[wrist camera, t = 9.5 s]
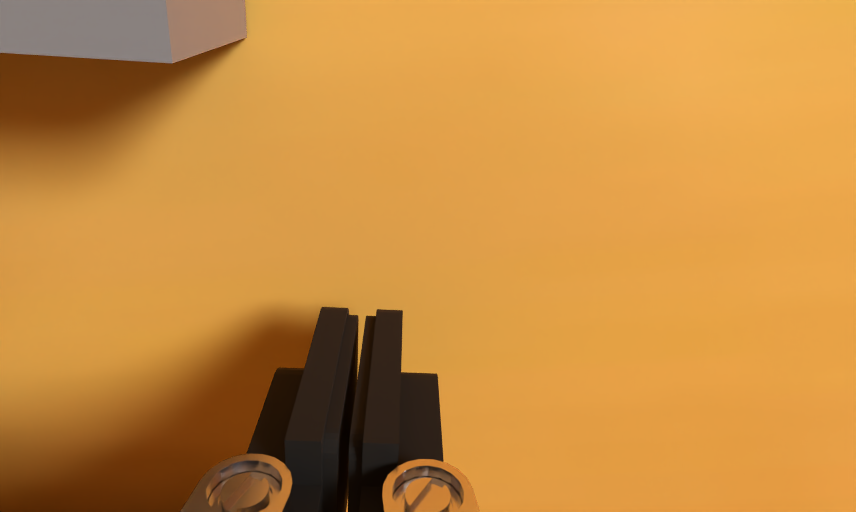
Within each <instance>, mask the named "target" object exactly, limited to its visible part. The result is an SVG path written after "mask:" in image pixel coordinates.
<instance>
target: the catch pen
mask: <svg viewBox="0 0 856 512" xmlns="http://www.w3.org/2000/svg"><path fill="white" fill-rule="evenodd" d="M244 38H247V31H246V14H245V0H0V53H13V54H30V55H46V56H62V57H78V58H94V59H110V60H126V61H143V62H159V63H175V62H178V61H181V60H184V59H186V58H189V57H192V56H195V55H198V54H201V53H204V52H206V51H209V50H212V49H215V48H218V47H221V46H224V45H226V44H229V43H232V42H235V41H238V40H241V39H244Z"/></svg>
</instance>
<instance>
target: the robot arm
mask: <svg viewBox="0 0 856 512" xmlns="http://www.w3.org/2000/svg"><path fill="white" fill-rule="evenodd" d="M402 315H403V311H402V310H379V309H377V312H376V316H366V321H365V328H364V335H363V343H362V350H361V357H360V365H359V372H358V380H357V365H358V315H349V309H348V308H333V307H322V308H321V311H320V314H319V318H318V322H317V325H316V329H315V332H314V336H313V340H312V343H311V347H310V350H309V354H308V358H307V361H306V365H305V368H304V369H301V368H278V369H277V370H276V372H275V374H274V377H273V380H272V383H271V386H270V389H269V391H268V394H267V397H266V400H265V403H264V406H263V409H262V411H261V414H260V417H259V420H258V423H257V426H256V429H255V431H254V434H253V437H252V440H251V443H250V446H249V448H248V451H247V454H244V455H239V456H234V457H231V458H229V459H226V460H224V461H222V462H220V463H218V464H217V465H215V466H214V467H213V468H211V469H210V470H208V472H207V473H206V474H205V475H204V476H203V477H202V479H201V480H200V481H199V483H198V484H197V486H196V487H195V489H194V491H193V492H192V494H191V495H190V497H189V499H188V500H187V502H186V503H185V505H184V506H183V508H182V510H181V511H180V512H346V507H347V499H348V512H480V510H479V507H478V504H477V501H476V498H475V494H474V491H473V488H472V486H471V484H470V482H469V480H468V479H467V477H466V476H465V475H464V474H463V473H462V472H461V471H460V470H459V469H457V468H455V467H453V466H451V465H450V464H448V463H445V462H443V448H442V433H441V419H440V404H439V389H438V377H437V374H430V373H404V372H401V353H402Z"/></svg>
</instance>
